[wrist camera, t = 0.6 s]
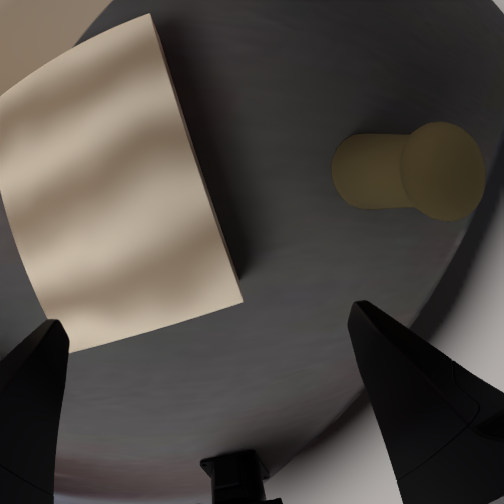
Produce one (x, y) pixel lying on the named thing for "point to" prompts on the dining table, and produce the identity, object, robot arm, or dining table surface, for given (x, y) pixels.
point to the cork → (412, 171)
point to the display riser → (111, 192)
